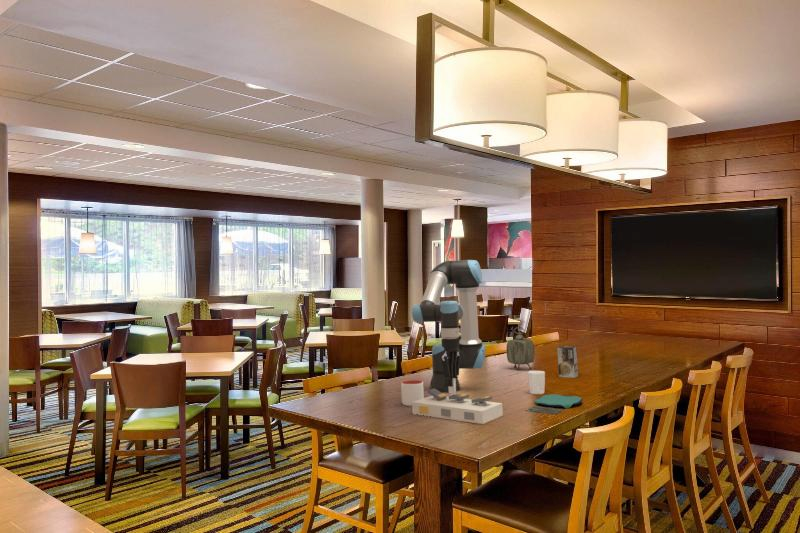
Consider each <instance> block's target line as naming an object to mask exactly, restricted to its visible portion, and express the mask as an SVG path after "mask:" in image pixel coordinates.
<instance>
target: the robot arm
mask: <svg viewBox="0 0 800 533" xmlns="http://www.w3.org/2000/svg"><path fill="white" fill-rule="evenodd" d="M427 282H428V283H427V285H426V289H425V291H424V293H423V296H422V299H421V301H420V304H414V305H413V306H412V309H411V317H412V320H413V321H414V322H416V323H427V322H428V323H433V322H434V323H435V322H438V323H440V324H441V325H440V326H441V327H440V331H441V332H440V335H441V342H440V343H437V344H435V345H433V346H432V348H431V358H432V360H431V362H432V375H431V376H432V377H431V379H430V384H429V390H431V389H434V388H435V389H436V390H438V391H440V392H441V393H448V395H454V394H457V391H460V390H461V384H460V381H459V375H460V370H461V369H469V370H472V369H473V370H477V369H479V370H480V369H482V368H483V367H484V364H485V360H486V350H487V349H486V345H484V344H483V341H482V340H481V339H480V338H479V318H478V317H479V316H478V297H477V290H479V288H480V284H482V283H483V275H482V268H481V265H480V263H479V262H478V260H476V259H475V260H474V259H462V260H461V259H460V260H446V261H442V262H441V263H439V264H437V265H436V266H435V267H433V268H432V270H431V271H430V272H429V274H428V278H427ZM447 285H454V286H455V289H456V290H457V291H458V298H459V299H458V300H459V301H457V300H444V301H441V302H439V301H440V299H441V296H442V293H443V290H444V288H445V287H446V286H447ZM439 303H440V304H439ZM459 322H460V323H459ZM459 324H460V326H459ZM459 327H460V328H459ZM460 336H461V337H460ZM459 337H460V338H459Z"/></svg>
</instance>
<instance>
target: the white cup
mask: <svg viewBox="0 0 800 533" xmlns="http://www.w3.org/2000/svg"><path fill="white" fill-rule="evenodd" d="M527 375H528V387H529V393H530V394H532V395H543V394H545V387H546V386H545V384H546V383H545V382H546V371H544V370H529V371H528V372H527Z"/></svg>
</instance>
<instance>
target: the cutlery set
mask: <svg viewBox="0 0 800 533" xmlns="http://www.w3.org/2000/svg"><path fill="white" fill-rule="evenodd" d="M582 401H583V399H582V398H581V397H580V396H576V395H575V396H573V395H565V394H557V393H556V394H545V395H542V396H539V397H537V398H535V399H534V401H533V402H534V403H535V404H537V406H532V407H528V409H525V410H524V411H525V412H530V413H541V414H546V415H547V414H549V415H559V413H561V412H565V409H567V410H568V409H570V408H571V407H572V406H576V405H579V404H581V403H583V402H582ZM539 405H542V406H539ZM543 406H546V407H543ZM554 407H562V408H565V409H561V408H560V409H559V408H554Z"/></svg>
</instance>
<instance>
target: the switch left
mask: <svg viewBox="0 0 800 533" xmlns="http://www.w3.org/2000/svg"><path fill="white" fill-rule="evenodd" d="M426 393H427V394H428V395H430V396H433V397H435V398H437V399H438V400H443V399H446V398H447V397H448V396H447V395H446V394H445V393H444V392H440V391H438V390H436V389H435V388H434V389H431V390H430V389H427V392H426Z"/></svg>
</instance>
